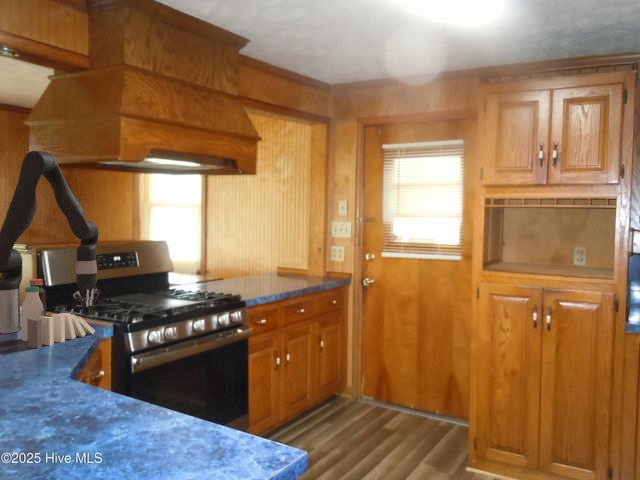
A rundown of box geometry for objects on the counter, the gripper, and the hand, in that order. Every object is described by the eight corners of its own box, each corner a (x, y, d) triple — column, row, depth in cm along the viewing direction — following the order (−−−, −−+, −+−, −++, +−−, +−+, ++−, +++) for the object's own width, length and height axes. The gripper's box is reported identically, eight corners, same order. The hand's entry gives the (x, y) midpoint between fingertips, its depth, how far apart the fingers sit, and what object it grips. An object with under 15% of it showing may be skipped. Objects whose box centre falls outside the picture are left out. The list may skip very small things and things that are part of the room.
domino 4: (72, 339, 202) (67, 315, 199) (63, 338, 204) (57, 314, 201) (75, 337, 203) (70, 313, 201) (66, 336, 205) (61, 312, 203)
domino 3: (61, 342, 197) (61, 315, 197) (51, 341, 199) (51, 314, 199) (65, 341, 199) (64, 315, 198) (55, 340, 201) (55, 313, 200)
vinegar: (29, 325, 225) (28, 278, 224) (47, 324, 227) (46, 278, 226) (26, 329, 219) (25, 280, 218) (44, 328, 221) (43, 280, 220)
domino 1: (37, 348, 188) (37, 320, 187) (27, 347, 190) (27, 319, 189) (41, 347, 189) (41, 319, 189) (31, 346, 191) (31, 318, 191)
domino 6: (93, 334, 211) (78, 320, 204) (83, 333, 213) (68, 319, 206) (95, 330, 212) (80, 316, 205) (85, 329, 214) (70, 315, 207)
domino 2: (49, 345, 193) (49, 318, 192) (40, 344, 195) (39, 317, 194) (53, 344, 194) (53, 317, 194) (43, 343, 196) (43, 316, 196)
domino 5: (83, 336, 206) (71, 317, 201) (73, 335, 208) (62, 316, 203) (85, 334, 207) (74, 314, 202) (76, 332, 209) (65, 313, 204)
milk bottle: (37, 342, 197) (36, 288, 196) (16, 341, 198) (15, 288, 197) (48, 337, 205) (47, 285, 204) (28, 336, 205) (27, 285, 204)
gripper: (92, 269, 218) (92, 311, 219) (65, 273, 206) (66, 317, 206) (106, 270, 215) (106, 313, 216) (80, 274, 203) (80, 319, 203)
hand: (86, 315), depth 211 cm, fingers closed
